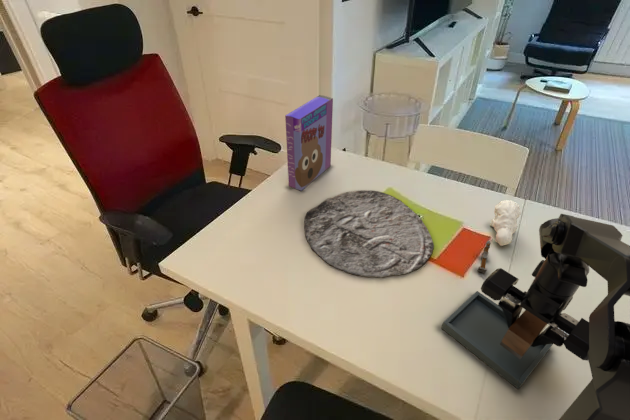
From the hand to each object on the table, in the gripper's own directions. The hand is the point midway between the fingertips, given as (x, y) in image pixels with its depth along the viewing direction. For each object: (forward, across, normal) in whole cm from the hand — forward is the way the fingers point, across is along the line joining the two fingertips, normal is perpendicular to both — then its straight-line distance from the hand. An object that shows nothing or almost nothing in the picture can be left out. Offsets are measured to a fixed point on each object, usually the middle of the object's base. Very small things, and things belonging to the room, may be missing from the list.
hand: (521, 337), depth 70 cm
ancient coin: (+5, +43, -4) cm, 43 cm away
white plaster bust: (+5, +19, -30) cm, 36 cm away
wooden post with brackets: (+5, +17, -17) cm, 25 cm away
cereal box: (+5, +74, -9) cm, 74 cm away
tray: (+5, +4, 0) cm, 6 cm away
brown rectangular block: (+1, 0, 0) cm, 1 cm away
